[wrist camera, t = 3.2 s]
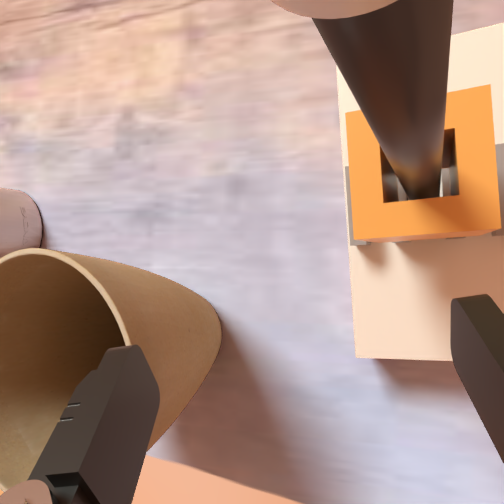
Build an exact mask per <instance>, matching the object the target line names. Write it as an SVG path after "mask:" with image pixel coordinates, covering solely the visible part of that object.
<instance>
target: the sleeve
mask: <svg viewBox="0 0 504 504" xmlns="http://www.w3.org/2000/svg"><path fill="white" fill-rule="evenodd" d="M345 117H346V132H347V147H348V162H349V177H350V192H351V206H352V221H353V236H354V240H360V241H368V242H377V243H384V242H398V241H412V240H425V239H439V238H453V237H467V236H480V235H483V234H486V233H489V232H492V231H495V230H498V229H501V216H500V203H499V190H498V177H497V163H496V150H495V137H494V123H493V110H492V97H491V84H488V85H483V86H478V87H473V88H468V89H463V90H458V91H453V92H448V93H447V98H446V113H445V127H444V141H443V156H442V169H445V168H449V181H450V195H451V196H445V197H436V198H426V199H417V200H408V201H399V197H398V182H397V176H396V174H395V172H394V171H393V169H392V167H391V165H390V163H389V161H388V159H387V157H386V156H385V154H384V152H383V150H382V148H381V146H380V144H379V143H378V141H377V139H376V137H375V135H374V133H373V131H372V130H371V128H370V126H369V124H368V122H367V120H366V118H365V116H364V115H363V113H362V111H361V110H357V111H352V112H347V113H345Z"/></svg>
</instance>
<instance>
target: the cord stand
mask: <svg viewBox="0 0 504 504" xmlns="http://www.w3.org/2000/svg"><path fill="white" fill-rule="evenodd" d="M271 1H272V2H273V3H275V4H276V5H278V6H280V7H282V8H283V9H285V10H287V11H290V12H292V13H295V14H298V15H301V16H306V17H311V18H312V19H313V21H314V23H315V25H316V27H317V29H318V31H319V33H320V34H321V36H322V38H323V40H324V42H325V44H326V46H327V47H328V49H329V51H330V53H331V55H332V57H333V59H334V60H335V62H336V71H337V86H338V101H339V116H340V131H341V146H342V161H343V175H344V190H345V205H346V220H347V235H348V250H349V265H350V280H351V295H352V310H353V324H354V339H355V354H356V358H380V359H408V360H436V361H453V359H452V355H451V348H450V325H451V301H452V299H453V298H460V297H467V296H473V295H480V294H488V295H489V296H490V297H491V298H492V299H493V301H494V302H495V303H496V305H497V306H498V307H499V309H500V310H501V311H502V313H503V314H504V23H500V24H495V25H491V26H487V27H483V28H479V29H475V30H471V31H467V32H463V33H459V34H455V35H451V27H452V12H453V0H271ZM488 84H491V97H492V110H493V123H494V137H495V150H496V163H497V177H498V190H499V203H500V216H501V229H498V230H495V231H492V232H489V233H486V234H483V235H480V236H467V237H453V238H439V239H425V240H412V241H398V242H384V243H377V242H368V241H360V240H354V236H353V221H352V206H351V192H350V177H349V162H348V147H347V132H346V117H345V113H347V112H352V111H357V110H361V111H362V113H363V115H364V116H365V118H366V120H367V122H368V124H369V126H370V128H371V130H372V131H373V133H374V135H375V137H376V139H377V141H378V143H379V144H380V146H381V148H382V150H383V152H384V154H385V156H386V157H387V159H388V161H389V163H390V165H391V167H392V169H393V171H394V172H395V174H396V176H397V182H398V197H399V201H408V200H417V199H426V198H436V197H445V196H451V195H450V181H449V168H445V169H442V156H443V141H444V127H445V113H446V98H447V93H448V92H453V91H458V90H463V89H468V88H473V87H478V86H483V85H488Z"/></svg>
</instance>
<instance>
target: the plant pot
mask: <svg viewBox="0 0 504 504" xmlns="http://www.w3.org/2000/svg"><path fill="white" fill-rule="evenodd" d="M221 339H222V331H221V325H220V321H219V318H218V316H217V313H216V312H215V310H214V308H213V307H212V306H211V304H210V303H209V302H208V301H207V300H206V299H204V298H203V297H202V296H200V295H198V294H197V293H195V292H193V291H192V290H190V289H188V288H186V287H184V286H183V285H181V284H178V283H176V282H174V281H172V280H170V279H167V278H165V277H162V276H160V275H157V274H154V273H151V272H149V271H146V270H142V269H139V268H136V267H133V266H129V265H125V264H122V263H118V262H114V261H110V260H105V259H100V258H95V257H90V256H84V255H79V254H73V253H67V252H61V251H55V250H48V249H41V248H28V249H22V250H18V251H15V252H12V253H10V254H7V255H6V256H4V257H2V258H0V489H1V490H2V491H3V492H5V491H7V490H8V489H10V488H11V487H13V486H15V485H17V484H19V483H21V482H24V481H27V479H28V478H29V476H30V474H31V472H32V470H33V468H34V466H35V465H36V463H37V461H38V459H39V457H40V455H41V453H42V451H43V449H44V447H45V446H46V444H47V442H48V440H49V438H50V436H51V434H52V432H53V430H54V428H55V426H56V425H57V423H58V422H60V417H61V415H62V413H63V411H64V409H65V407H68V402H69V400H70V398H71V396H72V394H73V392H74V390H75V388H76V386H77V385H78V384H79V383H80V382H81V381H82V380H83V379H84V378H85V377H86V376H87V375H88V374H89V373H90V372H91V370H97V368H98V366H99V364H100V362H101V360H102V358H103V356H104V354H105V352H106V351H107V350H108V349H110V348H115V347H122V346H129V345H138V346H139V347H140V348H141V349H142V351H143V353H144V356H145V358H146V360H147V362H148V364H149V366H150V368H151V371H152V373H153V375H154V377H155V379H156V381H157V383H158V386H159V391H160V405H159V410H158V413H157V417H156V420H155V424H154V427H153V430H152V434H151V437H150V441H149V444H148V448H147V451H148V450H149V449H150V448H151V447H152V446H153V445H154V444H155V443H156V442H157V440H158V439H159V438H160V437H161V436H162V435H163V434H164V433H165V432H166V430H167V429H168V428H169V427H170V426H171V425H172V423H173V422H174V421H175V420H176V419H177V417H178V416H179V415H180V413H181V412H182V411H183V410H184V408H185V407H186V406H187V404H188V403H189V402H190V400H191V399H192V397H193V396H194V395H195V393H196V392H197V390H198V389H199V387H200V386H201V384H202V382H203V381H204V379H205V377H206V376H207V374H208V372H209V370H210V369H211V367H212V365H213V363H214V361H215V359H216V357H217V354H218V352H219V349H220V345H221ZM147 451H146V452H147Z"/></svg>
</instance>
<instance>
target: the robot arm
mask: <svg viewBox="0 0 504 504" xmlns="http://www.w3.org/2000/svg"><path fill="white" fill-rule="evenodd" d="M41 237H42V224H41V217H40V214H39V211H38V208H37V206H36V204H35V203H34V201H33V200H32V199H31V197H29V196H28V195H27V194H26V193H24V192H22V191H19V190H13V189H6V188H0V258H2V257H4V256H6V255H7V254H10V253H12V252H15V251H18V250H22V249H28V248H39V246H40V242H41ZM450 348H451V355H452V359H453V363H454V366H455V368H456V371H457V373H458V375H459V377H460V379H461V381H462V383H463V385H464V387H465V389H466V391H467V393H468V395H469V397H470V399H471V401H472V402H473V404H474V406H475V408H476V410H477V412H478V414H479V416H480V418H481V420H482V422H483V424H484V426H485V428H486V430H487V432H488V434H489V436H490V438H491V440H492V442H493V444H494V446H495V447H496V449H497V451H498V453H499V455H500V457H501V459H502V461H503V463H504V314H503V313H502V311H501V310H500V309H499V307H498V306H497V305H496V303H495V302H494V301H493V299H492V298H491V297H490V296H489V295H488V294H480V295H473V296H467V297H460V298H453V299H452V301H451V325H450ZM159 405H160V391H159V386H158V383H157V381H156V379H155V377H154V375H153V373H152V371H151V368H150V366H149V364H148V362H147V360H146V358H145V356H144V353H143V351H142V349H141V348H140V347H139V346H138V345H129V346H122V347H115V348H110V349H108V350H107V351H106V352H105V354H104V356H103V358H102V360H101V362H100V364H99V366H98V368H97V370H91V372H90V373H89V374H88V375H87V376H86V377H85V378H84V379H83V380H82V381H81V382H80V383H79V384H78V385H77V386H76V388H75V390H74V392H73V394H72V396H71V398H70V400H69V402H68V407H65V409H64V411H63V413H62V415H61V417H60V422H58V423H57V425H56V426H55V428H54V430H53V432H52V434H51V436H50V438H49V440H48V442H47V444H46V446H45V447H44V449H43V451H42V453H41V455H40V457H39V459H38V461H37V463H36V465H35V466H34V468H33V470H32V472H31V474H30V476H29V478H28V479H27V481H24V482H21V483H19V484H17V485H15V486H13V487H11V488H10V489H8V490H7V491H5V492H4V493H3V494H2V495H1V496H0V504H131V503H132V500H133V496H134V493H135V489H136V486H137V482H138V479H139V476H140V472H141V468H142V465H143V461H144V458H145V455H146V451H147V448H148V444H149V441H150V437H151V434H152V430H153V427H154V424H155V420H156V417H157V413H158V410H159Z"/></svg>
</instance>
